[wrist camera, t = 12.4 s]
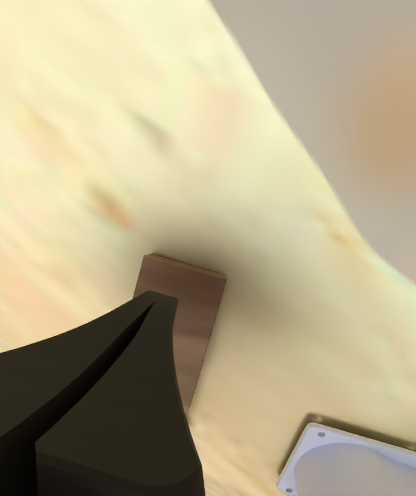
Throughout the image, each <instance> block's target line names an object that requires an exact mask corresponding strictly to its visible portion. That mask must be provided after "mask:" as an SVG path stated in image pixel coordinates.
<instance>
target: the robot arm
mask: <svg viewBox="0 0 416 496" xmlns="http://www.w3.org/2000/svg"><path fill="white" fill-rule="evenodd" d="M177 306H178V299H177V298H176V297H172V296H168V295H165V294H161V293H157V292H153V291H150V290H148V291H146V292H144V293H142V294H140V295H139V296H137V297H135V298H134V299H132V300H130V301H128V302H127V303H125V304H123V305H121V306H120V307H118V308H116V309H114V310H112V311H111V312H109V313H107V314H105V315H103V316H101V317H99V318H97V319H95V320H93V321H91V322H88V323H86V324H84V325H82V326H79V327H77V328H75V329H72V330H70V331H67V332H64V333H62V334H59V335H57V336H54V337H51V338H48V339H45V340H42V341H39V342H36V343H32V344H29V345H26V346H23V347H20V348H17V349H13V350H9V351H6V352H2V353H0V496H205V488H204V480H203V471H202V465H201V462H200V459H199V456H198V453H197V451H196V448H195V445H194V442H193V439H192V436H191V433H190V429H189V426H188V422H187V419H186V416H185V412H184V408H183V404H182V399H181V395H180V391H179V387H178V381H177V375H176V369H175V362H174V352H173V325H174V320H175V315H176V310H177ZM276 484H277V489H278V490H279V491H281V492H284V493H287V494H290V495H294V496H416V452H415V451H411V450H408V449H404V448H401V447H397V446H394V445H391V444H387V443H384V442H380V441H377V440H373V439H370V438H366V437H363V436H359V435H356V434H353V433H349V432H346V431H342V430H339V429H335V428H332V427H328V426H325V425H321V424H318V423H314V422H312V423H309V424H307V426H306V427H305V429H304V431H303V433H302V435H301V437H300V439H299V441H298V442H297V444H296V446H295V448H294V450H293V452H292V454H291V456H290V457H289V459H288V461H287V463H286V465H285V467H284V469H283V471H282V472H281V474H280V476H279V478H278V480H277V482H276Z"/></svg>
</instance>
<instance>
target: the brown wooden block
mask: <svg viewBox="0 0 416 496" xmlns="http://www.w3.org/2000/svg"><path fill="white" fill-rule="evenodd" d="M225 283H226V275H224V274H220V273H217V272H213V271H210V270H207V269H203V268H200V267H196V266H193V265H189V264H186V263H182V262H179V261H175V260H172V259H169V258H165V257H162V256H158V255H155V254H149V255H145V256H144V258H143V262H142V266H141V269H140V273H139V277H138V281H137V284H136V288H135V292H134V296H133V299H134V298H135V297H137V296H139V295H140V294H142V293H144V292H146V291H148V290H150V291H153V292H157V293H161V294H165V295H168V296H172V297H176V298H177V299H178V306H177V310H176V315H175V320H174V325H173V352H174V362H175V369H176V375H177V381H178V387H179V391H180V395H181V399H182V404H183V405H184V406H187V407H190V404H191V400H192V397H193V393H194V390H195V386H196V383H197V379H198V376H199V372H200V369H201V366H202V362H203V359H204V355H205V352H206V348H207V345H208V341H209V338H210V335H211V331H212V328H213V324H214V321H215V317H216V314H217V310H218V307H219V303H220V300H221V297H222V293H223V290H224V286H225Z"/></svg>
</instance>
